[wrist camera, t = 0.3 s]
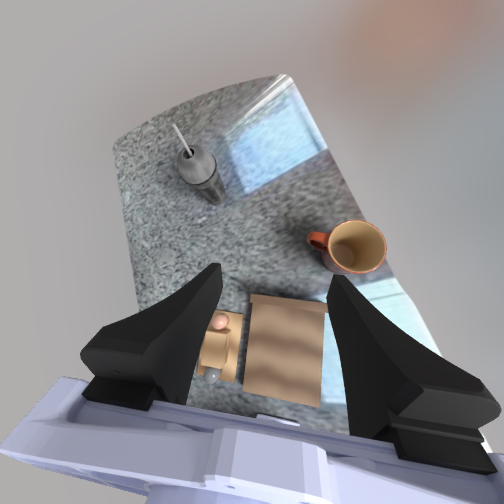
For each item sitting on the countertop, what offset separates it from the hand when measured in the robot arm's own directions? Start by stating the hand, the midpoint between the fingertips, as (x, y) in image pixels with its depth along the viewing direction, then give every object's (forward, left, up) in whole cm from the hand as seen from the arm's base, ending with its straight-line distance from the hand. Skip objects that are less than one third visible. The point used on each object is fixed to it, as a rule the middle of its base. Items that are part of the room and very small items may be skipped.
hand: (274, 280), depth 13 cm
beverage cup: (+20, +17, -30) cm, 40 cm away
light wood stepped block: (-11, -2, -29) cm, 31 cm away
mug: (+8, -10, -30) cm, 32 cm away
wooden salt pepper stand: (-13, +11, -30) cm, 34 cm away
